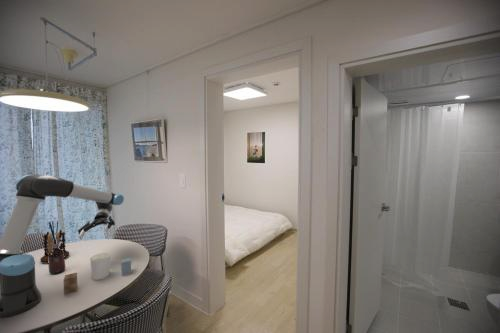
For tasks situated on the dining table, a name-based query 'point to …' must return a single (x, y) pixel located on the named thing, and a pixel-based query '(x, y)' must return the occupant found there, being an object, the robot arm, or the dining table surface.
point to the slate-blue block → (125, 266)
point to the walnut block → (70, 283)
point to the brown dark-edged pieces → (50, 244)
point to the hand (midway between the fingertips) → (93, 234)
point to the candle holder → (100, 265)
